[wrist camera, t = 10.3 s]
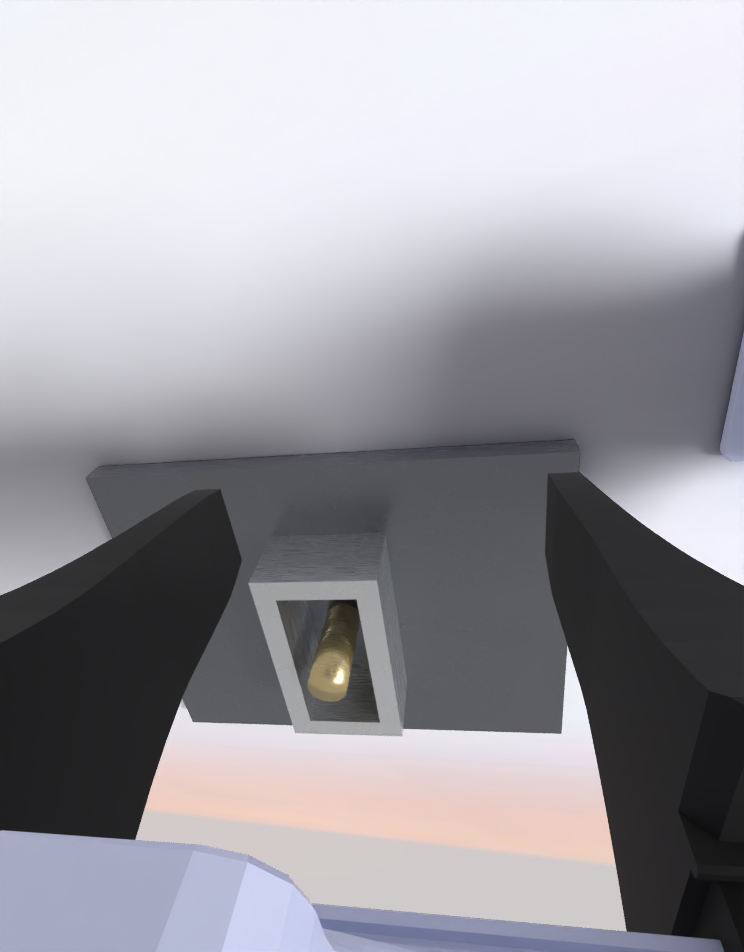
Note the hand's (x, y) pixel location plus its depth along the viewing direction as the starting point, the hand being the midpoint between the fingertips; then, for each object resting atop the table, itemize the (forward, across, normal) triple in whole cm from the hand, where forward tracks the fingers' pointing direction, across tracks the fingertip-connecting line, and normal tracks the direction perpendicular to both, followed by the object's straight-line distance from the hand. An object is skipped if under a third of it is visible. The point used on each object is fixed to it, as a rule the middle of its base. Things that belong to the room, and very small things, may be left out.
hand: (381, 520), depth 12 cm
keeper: (+9, +4, +11) cm, 15 cm away
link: (+8, +4, +11) cm, 14 cm away
